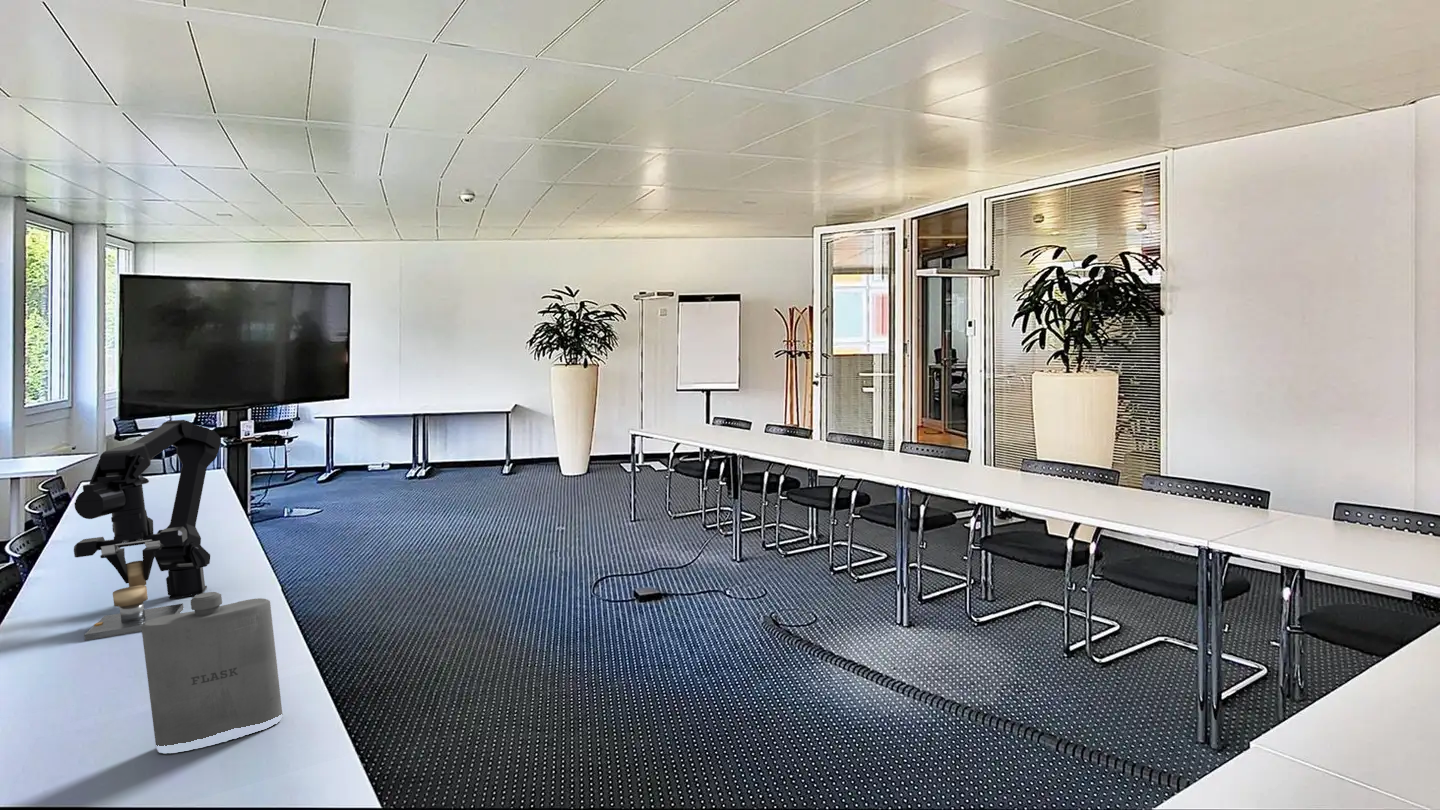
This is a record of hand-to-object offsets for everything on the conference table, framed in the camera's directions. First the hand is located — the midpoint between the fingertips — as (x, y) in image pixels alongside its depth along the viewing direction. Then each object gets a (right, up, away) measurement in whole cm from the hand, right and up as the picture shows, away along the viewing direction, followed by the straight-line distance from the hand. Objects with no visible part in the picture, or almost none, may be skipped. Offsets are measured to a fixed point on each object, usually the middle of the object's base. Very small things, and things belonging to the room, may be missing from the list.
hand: (137, 581), depth 171 cm
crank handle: (+2, -3, -3) cm, 5 cm away
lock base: (+3, -8, -5) cm, 10 cm away
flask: (+54, -9, -59) cm, 81 cm away
